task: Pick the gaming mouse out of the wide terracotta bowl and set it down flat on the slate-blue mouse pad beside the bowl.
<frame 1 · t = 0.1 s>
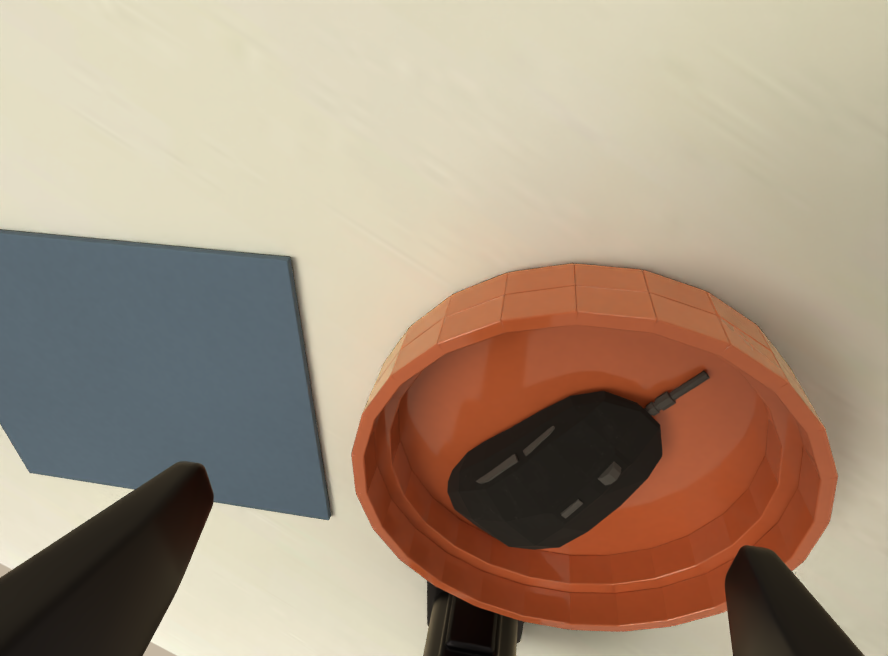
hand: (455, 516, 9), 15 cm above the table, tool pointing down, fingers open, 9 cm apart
mouse pad: (135, 384, 31), on the table
bowl: (570, 441, 28), on the table
gaming mouse: (570, 443, 27), resting on bowl
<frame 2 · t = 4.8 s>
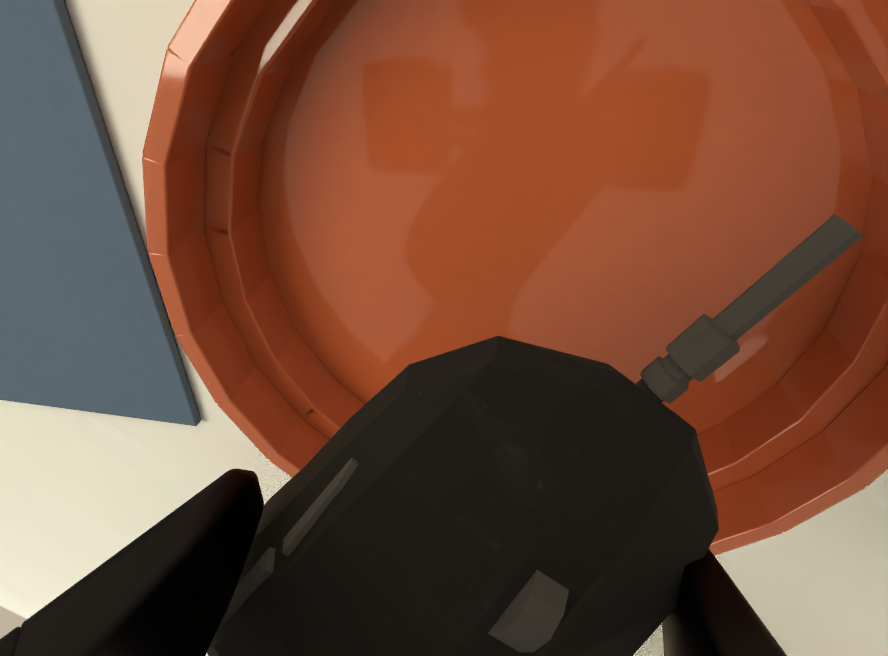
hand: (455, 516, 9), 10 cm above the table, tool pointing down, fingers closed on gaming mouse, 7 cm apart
bowl: (533, 261, 17), on the table
gaming mouse: (474, 495, 11), point 9 cm above the table, touching gripper
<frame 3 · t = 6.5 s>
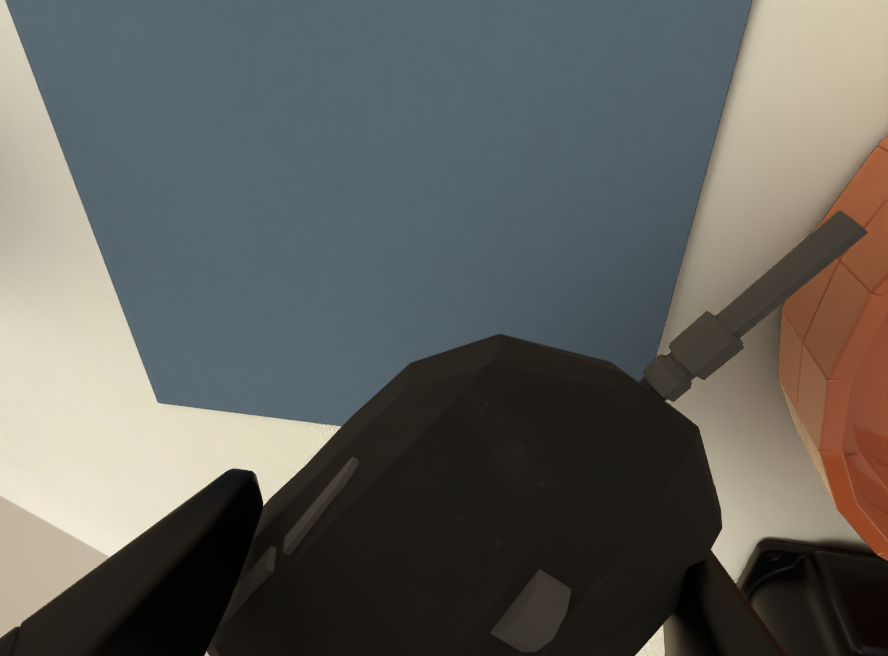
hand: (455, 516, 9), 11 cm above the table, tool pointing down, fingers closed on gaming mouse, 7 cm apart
mouse pad: (364, 235, 19), on the table
gaming mouse: (475, 494, 11), point 10 cm above the table, touching gripper
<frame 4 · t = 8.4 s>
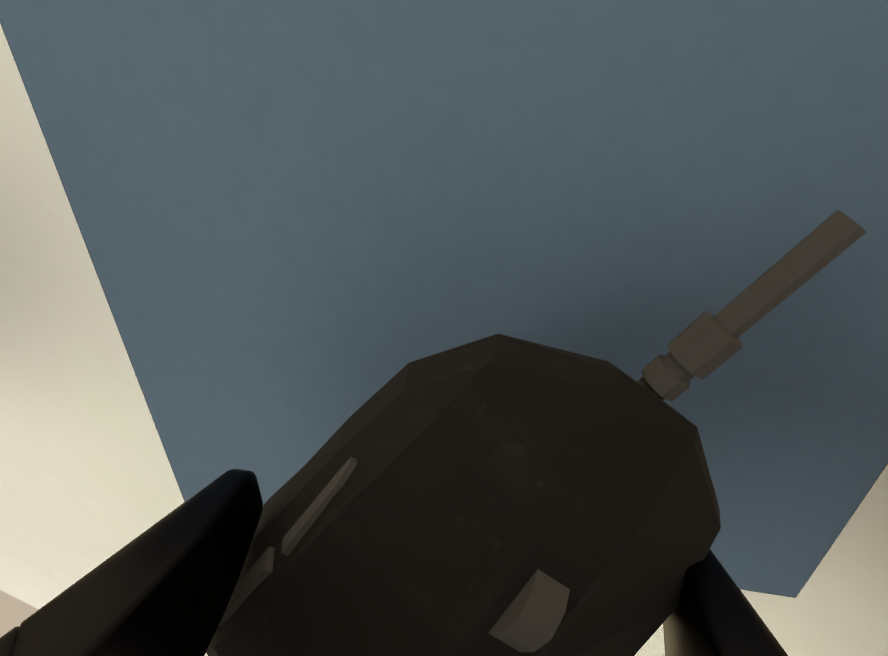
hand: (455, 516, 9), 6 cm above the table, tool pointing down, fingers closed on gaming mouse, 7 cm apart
mouse pad: (485, 321, 14), on the table
gaming mouse: (474, 494, 11), point 5 cm above the table, touching gripper
when the fingers open (1 cm above the table, at t = 10.2 s): gaming mouse stays where it is, resting on mouse pad.
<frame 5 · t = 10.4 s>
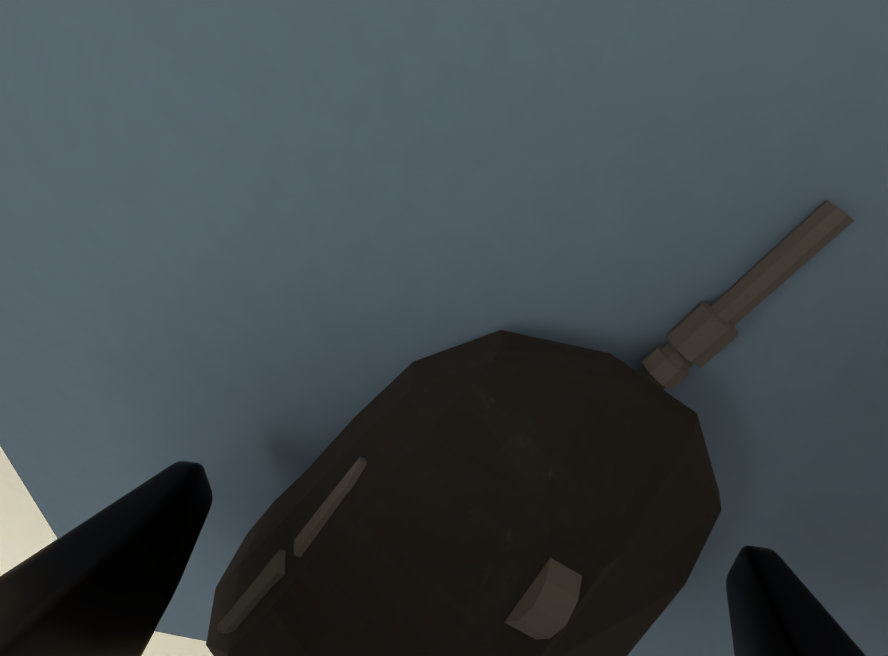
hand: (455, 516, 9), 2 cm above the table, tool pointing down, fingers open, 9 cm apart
mouse pad: (466, 450, 10), on the table
gaming mouse: (478, 489, 11), resting on mouse pad
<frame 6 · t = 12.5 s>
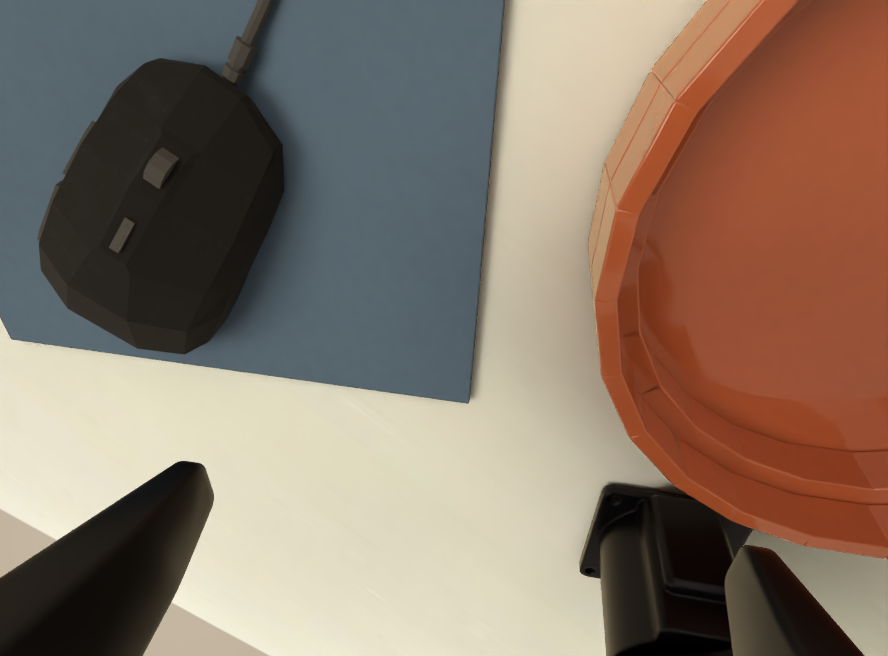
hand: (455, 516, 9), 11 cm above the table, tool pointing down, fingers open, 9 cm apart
mouse pad: (185, 161, 19), on the table
gaming mouse: (195, 186, 19), resting on mouse pad
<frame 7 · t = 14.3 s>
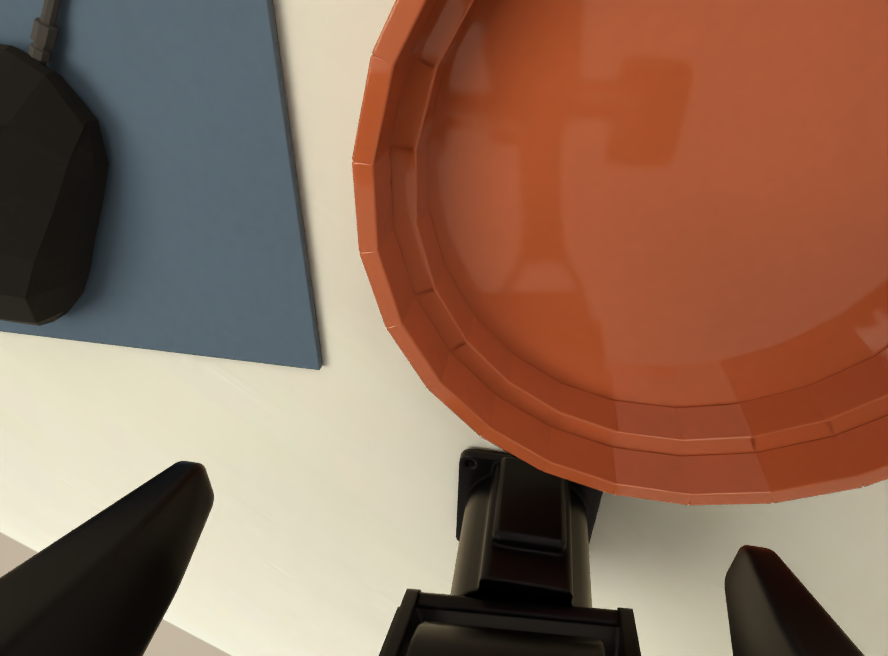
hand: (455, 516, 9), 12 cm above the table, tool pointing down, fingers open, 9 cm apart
mouse pad: (25, 139, 20), on the table
bowl: (704, 186, 17), on the table
gaming mouse: (36, 163, 20), resting on mouse pad
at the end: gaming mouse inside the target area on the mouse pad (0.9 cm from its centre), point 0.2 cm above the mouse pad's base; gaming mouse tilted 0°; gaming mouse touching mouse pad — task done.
